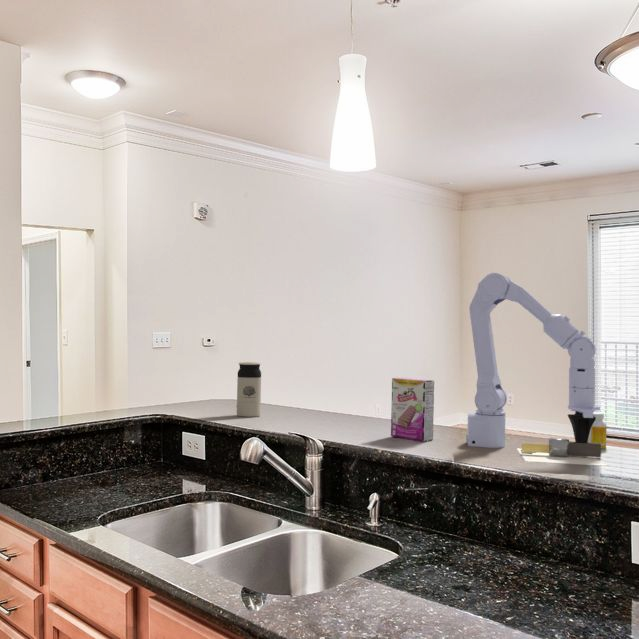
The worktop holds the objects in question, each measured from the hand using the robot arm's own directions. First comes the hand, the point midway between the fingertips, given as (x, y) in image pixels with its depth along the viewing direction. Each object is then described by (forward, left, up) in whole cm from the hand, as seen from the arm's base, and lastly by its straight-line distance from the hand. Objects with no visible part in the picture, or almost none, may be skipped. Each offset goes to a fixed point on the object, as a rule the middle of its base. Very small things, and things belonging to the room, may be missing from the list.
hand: (581, 444), depth 153 cm
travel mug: (-97, +49, -3) cm, 108 cm away
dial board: (-6, -6, -3) cm, 9 cm away
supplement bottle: (+5, +11, -3) cm, 13 cm away
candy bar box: (-41, +17, -3) cm, 44 cm away
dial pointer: (-6, -5, -2) cm, 8 cm away
